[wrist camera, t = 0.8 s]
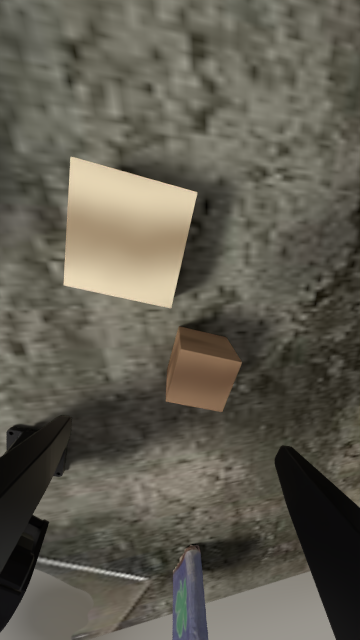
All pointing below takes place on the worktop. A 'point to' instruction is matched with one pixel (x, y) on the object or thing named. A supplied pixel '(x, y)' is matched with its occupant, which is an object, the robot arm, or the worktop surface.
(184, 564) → the flask
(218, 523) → the worktop surface
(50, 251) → the worktop surface
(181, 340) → the walnut cube
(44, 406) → the worktop surface
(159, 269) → the beech block
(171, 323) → the worktop surface
